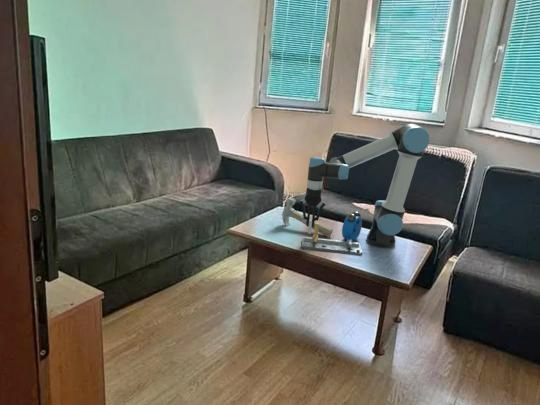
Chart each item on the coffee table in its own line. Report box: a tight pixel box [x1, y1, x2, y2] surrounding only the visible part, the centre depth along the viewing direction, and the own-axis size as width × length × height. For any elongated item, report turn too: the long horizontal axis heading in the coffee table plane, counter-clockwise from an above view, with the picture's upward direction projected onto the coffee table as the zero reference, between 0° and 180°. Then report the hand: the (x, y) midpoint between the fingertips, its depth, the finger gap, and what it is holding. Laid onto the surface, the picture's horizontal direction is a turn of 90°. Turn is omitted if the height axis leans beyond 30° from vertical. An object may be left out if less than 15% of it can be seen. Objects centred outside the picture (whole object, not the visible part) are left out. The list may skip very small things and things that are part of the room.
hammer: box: [281, 197, 334, 238], centre depth 246 cm, size 16×5×30 cm
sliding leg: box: [312, 221, 320, 245], centre depth 225 cm, size 2×8×10 cm, turn 175°
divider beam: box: [304, 236, 360, 249], centre depth 225 cm, size 28×8×3 cm, turn 85°
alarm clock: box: [341, 211, 363, 242], centre depth 237 cm, size 13×6×15 cm, turn 146°
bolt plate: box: [301, 238, 363, 256], centre depth 225 cm, size 30×11×2 cm, turn 85°
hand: (309, 232), depth 227 cm, fingers closed
